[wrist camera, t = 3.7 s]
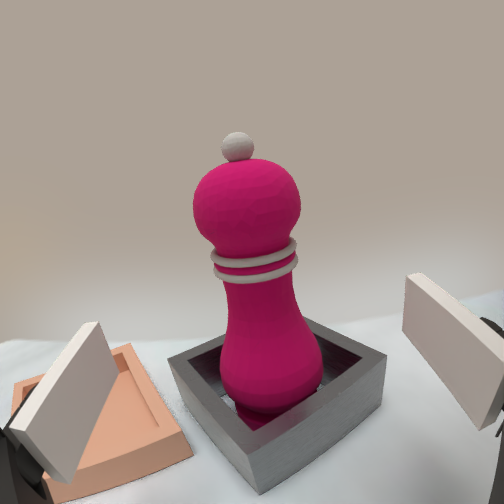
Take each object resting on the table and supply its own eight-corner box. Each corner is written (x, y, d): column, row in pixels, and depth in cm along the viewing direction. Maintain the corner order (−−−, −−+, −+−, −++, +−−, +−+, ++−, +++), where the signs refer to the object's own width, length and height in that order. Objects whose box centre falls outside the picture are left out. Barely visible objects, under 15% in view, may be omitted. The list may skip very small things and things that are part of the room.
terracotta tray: (139, 366, 30) (130, 342, 29) (193, 454, 19) (181, 430, 18) (27, 405, 23) (14, 383, 22) (34, 508, 12) (10, 487, 11)
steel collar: (288, 350, 30) (283, 306, 28) (380, 404, 21) (387, 355, 19) (184, 403, 24) (167, 358, 23) (259, 495, 15) (247, 455, 13)
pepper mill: (214, 424, 22) (142, 149, 16) (263, 372, 27) (224, 139, 21) (297, 457, 18) (254, 119, 11) (338, 391, 23) (321, 123, 17)
